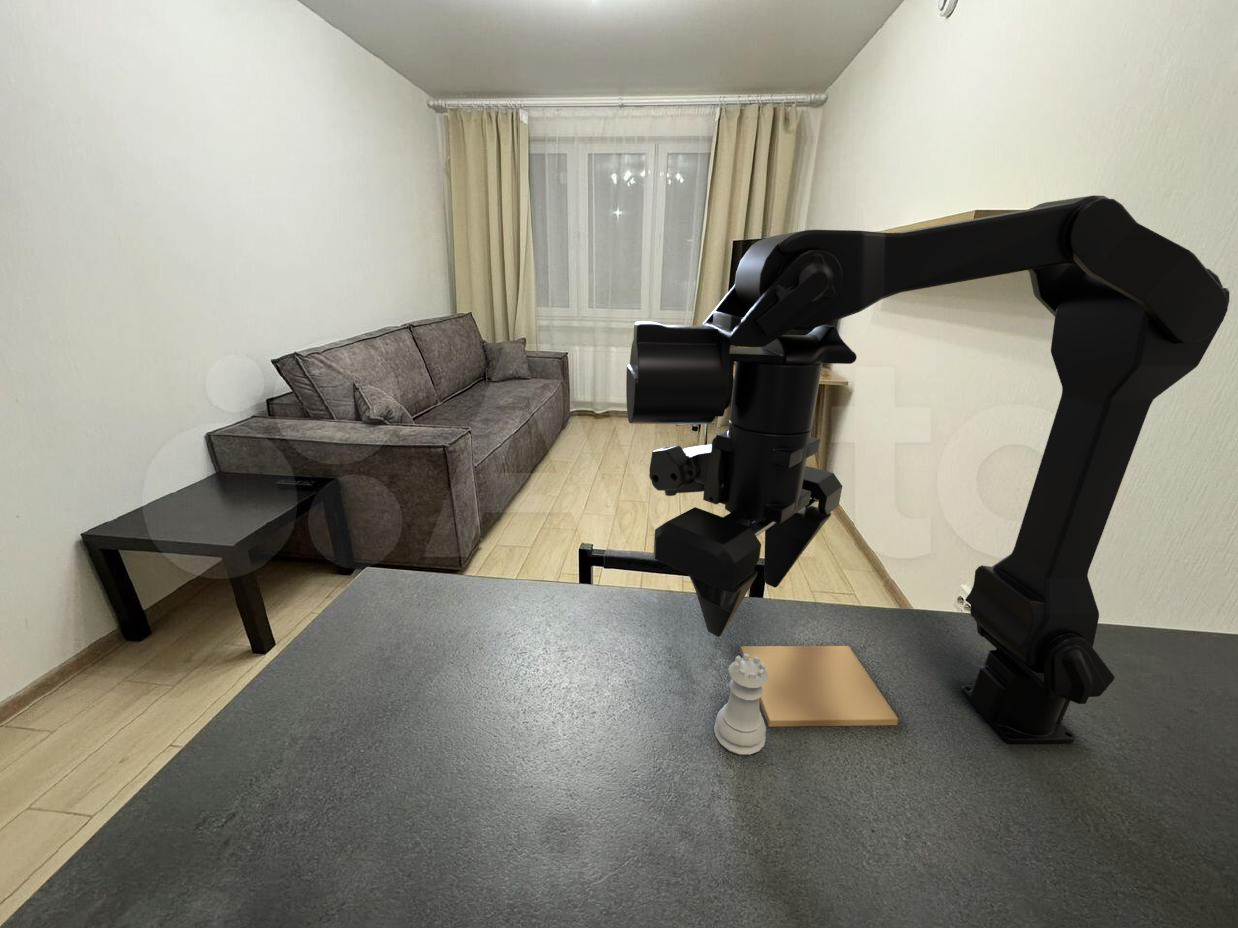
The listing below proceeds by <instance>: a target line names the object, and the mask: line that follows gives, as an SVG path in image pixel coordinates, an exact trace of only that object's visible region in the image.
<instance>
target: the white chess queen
mask: <svg viewBox="0 0 1238 928" xmlns="http://www.w3.org/2000/svg"><path fill="white" fill-rule="evenodd" d="M728 674H729V677H730V678H731V679H730V680H729V683H728V685H729V689H730V694H729V697H728V700H727V702H726V703H725V704H724V705H723V706H722V708H720V709H719V711H718V712H717V715H716V718H715V723H714V726H713V730H714V736H715V737H716V739H717V741H718V742H719V744H721V746H722V747H723V748H724V749H726V750H727V751H728V752H730V753H732V754H735V755H738V756H750V755H752V754H755V753H758V752H760V751H761V750H762V748H763V747H764V746H765V744H766V743H765V742H766V739H767V738H766V732H767V727H766V723H765V721H764V718H763V715H762V713H761V710H760V702H759V698H760V697H761V696H762V694H763V688H762V686H764V685H765V684H766V683H767V681H768V674H767V671H766V670H765V665H764V663H760V658H758V657H756V656H754V660H753V659H749V654H743V658H742V656H741V655H740V654H739V655H737V656H736V657H735V658H734V661H733V662H732V663H731V664H730V665H729V666H728Z"/></svg>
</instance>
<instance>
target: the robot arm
mask: <svg viewBox="0 0 1238 928" xmlns="http://www.w3.org/2000/svg"><path fill="white" fill-rule="evenodd" d="M1025 271H1028V273H1029V278H1030V283H1031V288H1032V292H1033V296H1034V297H1035V298H1036V300H1037V301H1039V302H1040V303H1041V305H1043V307H1044V308H1046V310H1047V311H1049V313H1050V314H1052V316H1053V317H1054V322H1053V329H1052V336H1051V337H1052V338H1051V345H1050V354H1051V357H1052V360H1053V364H1054V366H1055V369H1056V372H1057V376H1058V379H1059V382H1060V384H1061V389H1062V390H1061V396H1060V399H1059V403H1058V406H1057V409H1056V412H1055V415H1054V419H1053V421H1052V425H1051V427H1050V428H1051V429H1050V431H1049V434H1048V438H1047V441H1046V444H1045V447H1044V451H1043V453H1042V457H1041V461H1040V464H1039V467H1038V470H1037V473H1036V477H1035V479H1034V483H1033V486H1032V490H1031V493H1030V495H1029V499H1028V502H1027V505H1026V509H1025V512H1024V515H1023V518H1022V522H1021V525H1020V528H1019V531H1018V534H1017V538H1016V541H1015V543H1014V547H1013V549H1012V551H1011V552H1010V554H1008V555H1007V556H1005V557H1004V558H1002V559H1001V560H999V561H998V562H996V563H995V564H993V565H992V566H988V565H979V566H978V567H977V568H976V569H975V570H974V579H973V585H972V587H971V590H970V592H969V594H968V595H967V596H966V597H965V599H964V600H965V602H966V603H968V604H969V605H970V609H969V612H970V613H969V614H970V616H971V617H972V618H973V620H974V621H975V623H976V631H977V634H978V636H981V637H982V638H984V639H985V640H986V641H987V642H989V644H991V645H992V646H993V647H994V648H995V649H990V650H989V651H988V654H987V655H986V656H987V657H986V660H985V663H984V665H981V666H980V668H979V671H978V675H977V677H976V680H975V683H974V684H973V685H972V684H969V685H968V684H964V685H962V686H961V689H960V690H961V693H962V695H964V696H965V697H966V699H967V700H968V701H969V702H970V703H971V704H972V705H973V706H974V708H975V709H976V710H977V711H978V712H979V713H980V715H981V716H982V717H983V718H984V719H985V721H986V722H987V723H988V724H989V725H990V726H991V727H992V728H993V730H994V731H995V732H996V733H997V734H998V735H999V736H1000V737H1001V738H1002V740H1003V741H1005V742H1006V743H1009V744H1063V743H1064V744H1065V743H1067V744H1068V743H1070V744H1071V743H1074V742H1075V739H1076V735H1075V734H1074V733H1073V732H1072V731H1071V730H1070V729H1068V727H1067V726H1066V725H1064V724H1063V723H1062V722H1063V719H1064V718H1065V716H1066V713H1067V710H1068V707H1069V706H1070V704H1071V702H1073V703H1075V704H1077V705H1086V704H1087V702H1088V700H1089V698H1097V697H1101V696H1102V695H1103V693H1104V692H1106V690H1107V688H1109V687H1110V685H1111V684H1112V683H1113V682H1114V681H1115V677H1116V676H1115V675H1114V673H1113V672H1112V671H1111V670H1110V669H1109V667H1108V666H1107V665H1106V663H1105V662H1104V661H1103V660H1102V658H1101V657H1100V655H1099V654H1098V652H1097V651H1096V650H1095V649H1094V643H1095V639H1096V634H1097V629H1098V624H1099V619H1100V611H1099V609H1098V605H1097V602H1096V598H1095V595H1094V593H1093V589H1092V586H1091V583H1090V580H1089V576H1088V575H1089V571H1090V568H1091V565H1092V562H1093V560H1094V558H1095V554H1096V551H1097V549H1098V546H1099V544H1100V541H1101V539H1102V535H1103V533H1104V531H1105V529H1106V525H1107V522H1108V519H1109V517H1110V514H1111V512H1112V509H1113V506H1114V504H1115V501H1116V498H1117V495H1118V494H1119V490H1120V487H1121V485H1122V482H1123V480H1124V477H1125V474H1126V472H1127V469H1128V466H1129V464H1130V460H1131V458H1132V455H1133V452H1134V450H1135V448H1136V445H1137V442H1138V439H1139V436H1140V434H1141V431H1142V429H1143V426H1144V423H1145V420H1146V418H1147V415H1148V412H1149V410H1150V408H1151V405H1152V404H1153V402H1154V400H1155V399H1156V398H1158V397H1160V395H1162V394H1163V393H1164V392H1166V391H1167V390H1168V389H1170V387H1172V386H1173V385H1175V384H1176V383H1178V382H1179V381H1180V380H1182V379H1183V378H1184V377H1185V376H1187V375H1188V374H1190V373H1191V372H1193V370H1195V369H1196V368H1197V367H1198V366H1199V365H1200V363H1201V361H1202V359H1203V358H1204V356H1205V354H1206V352H1207V350H1208V349H1209V347H1210V345H1211V343H1212V341H1213V339H1214V338H1215V337H1216V335H1217V332H1218V330H1219V329H1220V327H1221V325H1222V323H1223V322H1224V319H1225V317H1226V315H1227V312H1228V311H1229V310H1228V307H1229V304H1230V290H1229V288H1228V287H1224V286H1223V283H1222V281H1221V279H1220V277H1219V276H1218V275H1217V273H1215V272H1214V271H1212V270H1211V269H1210V268H1206V266H1205V265H1204V264H1203V263H1202V262H1201V260H1200V259H1199V258H1198V256H1196V254H1195V253H1194V252H1193V251H1191V250H1190V249H1188V248H1186V247H1185V246H1182V245H1180V244H1179V243H1176V242H1174V241H1173V240H1170V239H1169V238H1167V237H1165V236H1163V235H1161V234H1160V233H1157V232H1155V231H1153V230H1152V229H1150V228H1148V227H1146V226H1144V225H1143V224H1140V223H1139V222H1137V220H1136V219H1135V218H1134V217H1133V216H1132V215H1131V213H1129V211H1128V210H1127V209H1126V207H1125V206H1124V205H1123V204H1122V203H1120V202H1119V201H1117V200H1116V199H1114V198H1109V197H1107V196H1105V195H1095V194H1094V195H1088V196H1080V197H1073V198H1066V199H1059V200H1052V201H1046V202H1041V203H1039V204H1037V205H1035V206H1033V207H1031V208H1028V209H1022V210H1018V211H1012V212H1011V211H1010V212H1006V213H1000V214H993V215H988V216H982V217H977V218H972V219H971V218H970V219H965V220H960V221H953V222H948V223H942V224H937V225H932V226H924V227H919V228H914V229H913V228H912V229H908V230H902V231H896V232H882V231H881V232H879V231H868V230H853V229H852V230H850V229H849V230H847V229H805V230H800V231H799V230H798V231H793V232H788V233H782V234H776V235H771V236H768V237H766V238H763V239H759V240H758V241H756V242H755V243H753V244H751V245H750V247H749V248H748V249H747V251H746V252H745V254H744V255H743V257H742V258H741V259H740V260H739V264H738V267H737V270H736V272H735V281H734V285H733V286H732V287H731V288H730V289H729V291H728V292H727V293H726V294H725V296H724V297H723V298H722V299H721V300H720V302H718V304H717V305H716V307H715V308H714V309H713V311H711V313H710V314H709V315H708V317H706V319H705V320H704V321H703V322H702V324H701V325H675V324H673V325H672V324H671V325H669V324H662V323H659V322H655V321H636V322H635V323H634V325H633V340H632V342H631V349H630V357H629V364H627V365H626V378H625V380H626V381H625V386H626V387H625V390H626V391H625V393H626V394H625V397H626V399H625V401H626V413H627V421H628V424H632V425H633V424H637V425H641V424H642V425H643V424H648V425H650V424H651V425H655V424H656V425H658V424H659V425H710V424H712V423H713V422H714V420H715V418H716V417H724V414H725V411H726V410H727V409H728V408H729V406H730V411H729V419H728V420H729V421H728V430H726V431H723V432H720V433H718V434H716V436H715V437H714V438H712V441H711V443H710V444H701V445H695V446H689V447H685V448H682V446H681V445H675V446H671V447H668V446H664V447H661V448H658V449H655V450H653V451H651V457H650V458H651V459H650V463H649V470H648V471H649V475H648V476H649V479H650V481H651V485H652V487H653V488H654V489H655V490H657V491H659V492H661V491H664V495H665V496H667V497H674V496H676V495H677V494H686V493H688V494H689V493H700V492H703V496H702V500H703V501H705V502H708V503H710V504H713V505H719V504H722V505H724V510H726V511H727V512H728V514H726V515H724V516H721V515H718V514H716V513H713V512H710V511H708V510H706V509H705V510H704V509H702V508H700V507H696V506H694V507H693V508H690V509H689V510H686V511H684V512H683V513H680V514H678V515H676V516H675V517H673V518H670V519H669V520H667V521H666V522H664V523H663V524H661V525H660V526H658V527H656V528H655V529H654V538H653V539H654V541H653V558H654V560H656V561H658V562H659V563H662V564H664V565H666V566H668V567H671V568H673V569H675V570H677V571H679V572H681V573H684V574H686V575H688V577H689V579H690V581H691V583H692V586H693V588H694V591H695V594H696V597H697V600H698V604H699V607H700V611H701V613H702V617H703V619H704V620H703V621H704V624H705V627H706V630H707V632H708V633H710V634H712V635H713V636H716V637H718V638H720V637H722V636H723V634H724V633H725V632H726V629H727V628H728V626H729V625H730V623H731V621H732V620H733V618H734V616H735V615H736V613H737V611H738V609H739V608H740V605H741V604H742V602H743V600H744V598H745V597H746V595H747V593H748V592H749V590H750V588H751V587H752V585H753V584H754V581H755V580H756V578H757V576H758V574H759V572H758V571H757V570H755V568H756V566H757V565H758V562H759V560H760V557H761V550H762V543H761V541H760V540H759V537H758V536H759V535H761V534H762V533H764V556H763V557H764V560H763V561H764V563H763V566H764V567H763V570H764V571H763V572H764V583H765V584H766V585H767V586H770V587H772V588H777V587H779V586H780V584H781V583H782V582H783V580H784V578H786V576H787V574H788V573H789V571H791V569H792V568H793V567H794V565H795V564H796V563H797V561H798V559H799V558H800V557H801V555H802V554H803V553H804V551H805V550H806V549H807V548H808V546H809V545H810V544H811V542H812V540H813V539H814V538H815V537H816V535H817V534H818V533H819V532H820V530H821V529H822V527H824V525H825V524H826V522H827V521H829V520H830V518H831V516H832V512H833V511H834V510H835V509H836V508H838V507H839V506H840V501H841V497H842V492H843V485H842V483H841V481H840V480H839V478H838V477H837V476H836V475H835V473H834V472H831V471H827V470H824V469H820V468H816V467H812V466H808V465H807V461H808V458H810V457H812V456H814V455H815V454H817V453H819V447H820V441H821V439H820V438H816V437H812V429H813V423H814V417H815V410H816V405H817V400H818V394H819V386H820V382H821V374H822V369H823V364H829V365H830V364H831V365H834V364H835V365H840V364H841V365H851V364H853V363H855V362H856V361H857V358H858V357H857V354H856V352H854V351H853V349H851V348H850V346H849V345H848V344H846V342H845V341H844V340H843V339H842V337H841V336H840V334H839V331H838V328H837V327H836V326H834V325H828V324H830V323H833V322H836V321H839V320H841V319H844V318H846V317H850V316H853V315H856V314H858V313H861V312H862V311H865V310H866V309H868V308H869V307H871V306H874V304H877V303H878V302H880V301H881V300H884V299H887V298H889V297H890V298H891V297H892V296H894V295H898V294H900V293H901V294H902V293H905V292H911V291H916V290H923V289H927V288H928V289H929V288H934V287H940V286H945V285H951V284H956V283H957V284H958V283H962V282H968V281H974V280H981V279H985V278H990V277H991V278H992V277H997V276H1003V275H1008V274H1013V273H1019V272H1025ZM792 330H795V331H796V330H797V331H798V330H799V331H803V330H805V331H806V330H808V331H809V330H812V331H809V332H808V333H807V334H805V335H802V334H801V335H799V334H798V335H797V334H796V335H795V334H787V333H788V332H790V331H792ZM731 346H733V347H731ZM817 500H818V502H817ZM816 505H817V506H816Z"/></svg>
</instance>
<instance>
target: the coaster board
mask: <svg viewBox="0 0 1238 928" xmlns="http://www.w3.org/2000/svg"><path fill="white" fill-rule="evenodd" d="M739 653H740V657H741V659H742V658H743V654H749V659H753V660H754V656H756V657H758V658H760V663H764V665H765V670H766V671H767V674H768V681H767V683H766V684H765V685H764V686H762V688H763V694H762V696H761V697H760V698H759V706H760V708H761V710H762V712H763V715H764V719H765V721H766V724H767V725H768V727H769V728H781V727H782V728H783V727H784V728H786V727H787V728H788V727H861V726H862V727H863V726H864V727H865V726H866V727H867V726H898V721H899V717H898V716H897V714H896V713H895V712H894V710H893V708H891V706H890V704H889V703H888V702H887V700H886V698H885V697H884V696H883V694H882V692H881V691H880V690H879V688H878V687H877V685H876V684H875V682H874V681H873V679H872V678H871V676H870V675H869V673H868V672H867V671H866V669H865V668H864V666H863V664H862V663H861V661H860V660H859V659H858V658H857V655H855V653H854V651H853V650H852V648H851V647H850V646H849V645H742V646H740V650H739Z"/></svg>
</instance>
